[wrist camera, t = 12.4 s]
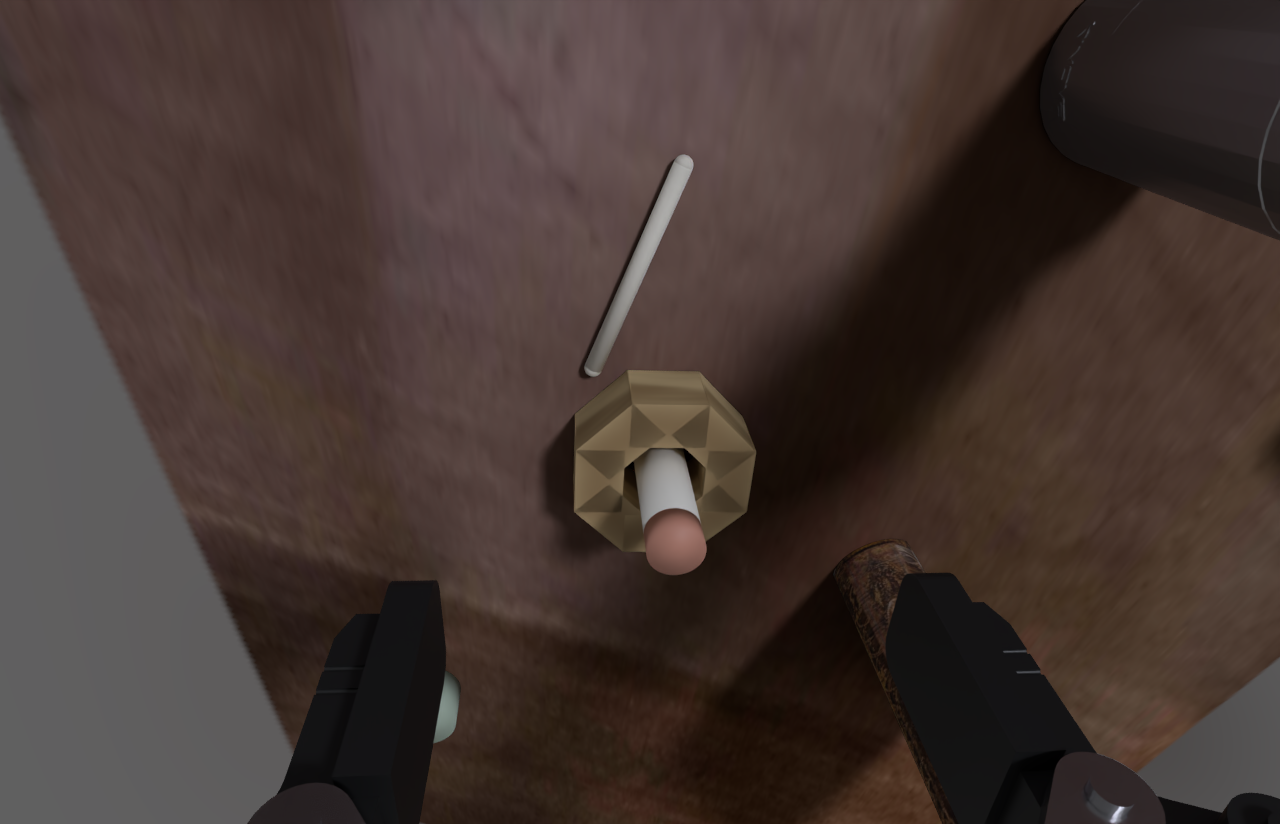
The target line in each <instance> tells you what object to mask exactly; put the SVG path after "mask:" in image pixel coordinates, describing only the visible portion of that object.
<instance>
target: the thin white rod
mask: <svg viewBox="0 0 1280 824" xmlns="http://www.w3.org/2000/svg"><path fill="white" fill-rule="evenodd" d="M692 170H693V161H692V159H691V158H690V157H689V156H688V155H680V156H678V157H677V158H676V159H675V160H674V163H673V165H672V167H671V169H670V172H669V174H668V176H667V179H666V181H665V183H664V185H663V188H662V190H661V192H660V195H659V197H658V199H657V201H656V204H655V206H654V208H653V210H652V213H651V215H650V217H649V220H648V222H647V224H646V226H645V229H644V231H643V233H642V236H641V238H640V240H639V242H638V245H637V247H636V249H635V252H634V254H633V256H632V258H631V261H630V263H629V265H628V267H627V270H626V272H625V274H624V277H623V279H622V281H621V283H620V286H619V288H618V290H617V293H616V295H615V297H614V299H613V302H612V304H611V306H610V309H609V311H608V313H607V315H606V318H605V320H604V322H603V324H602V327H601V329H600V331H599V334H598V336H597V338H596V340H595V343H594V345H593V347H592V350H591V352H590V354H589V356H588V359H587V361H586V363H585V366H584V369H585V372H586V374H587V375H589V376H592V377H595V376H598V375H599V374H600V373H601V371H602V369H603V367H604V365H605V362H606V360H607V358H608V356H609V353H610V351H611V349H612V347H613V345H614V342H615V340H616V338H617V336H618V334H619V331H620V329H621V327H622V325H623V322H624V320H625V318H626V316H627V314H628V311H629V309H630V307H631V305H632V302H633V300H634V298H635V296H636V294H637V291H638V289H639V287H640V285H641V283H642V280H643V278H644V276H645V274H646V271H647V269H648V267H649V265H650V263H651V260H652V258H653V256H654V254H655V252H656V249H657V247H658V245H659V243H660V240H661V238H662V236H663V234H664V232H665V229H666V227H667V225H668V223H669V221H670V218H671V216H672V214H673V212H674V209H675V207H676V205H677V203H678V201H679V198H680V196H681V194H682V192H683V190H684V187H685V185H686V183H687V181H688V178H689V176H690V174H691V172H692Z"/></svg>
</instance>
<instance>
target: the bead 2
mask: <svg viewBox="0 0 1280 824" xmlns="http://www.w3.org/2000/svg"><path fill="white" fill-rule="evenodd" d="M649 448H685V449H686V450H687V451H688V452H689V453H690V454H692V455H693V458H692V459H691V460H690V461H688V462H687V463H686V464H687V468H688V472H689V476H690V480H691V485H692V489H693V493H694V497H695V501H696V505H697V509H698V514H699V518H700V522H701V526H702V530H703V534H704V538H705V542H706V541H707V540H709V539H710V538H711V537H713V536H714V535H715V534H717V533H718V532H720V531H721V530H722V529H724V528H725V527H727V526H728V525H729V524H731V523H732V522H733V521H735V520H736V519H738V518H739V517H740V516H742V515H743V514H744V513H746V512H747V506H748V500H749V494H750V488H751V482H752V476H753V469H754V463H755V457H756V449H755V447H754V444H753V442H752V439H751V437H750V434H749V432H748V429H747V427H746V424H745V421H744V419H743V416H742V415H741V414H740V413H739V412H738V411H737V410H736V409H735V408H734V407H733V406H732V405H731V404H730V403H729V402H728V401H727V400H726V399H725V398H724V397H723V396H722V395H721V394H720V393H719V392H718V391H717V390H716V389H715V388H714V387H713V386H712V385H711V383H710V382H709V381H708V380H707V379H706V378H705V377H704V376H703V375H702V374H701V373H700V372H699V371H645V370H627V371H626V372H625V373H623V374H622V375H621V376H620V377H619V378H617V379H616V380H615V381H614V382H613V383H611V384H610V385H609V386H608V387H607V388H605V389H604V390H603V391H602V392H601V393H599V394H598V395H597V396H596V397H595V398H594V399H592V400H591V401H590V402H589V403H588V404H586V405H585V406H584V407H583V408H582V409H580V410H579V411H578V412H577V413H575V438H574V472H573V481H574V512H575V513H576V514H577V515H578V516H580V517H581V518H582V519H583V520H585V521H586V522H587V523H588V524H590V525H591V526H592V527H593V528H594V529H596V530H597V531H598V532H599V533H601V534H602V535H603V536H604V537H605V538H607V539H608V540H609V541H610V542H612V543H613V544H614V545H615V546H616V547H618V548H619V549H620V550H621V551H622V552H646V548H645V541H644V533H643V526H642V518H641V511H640V504H639V496H638V489H637V481H636V474H635V472H634V471H633V470H632V469H631V468H630V467H629V466H628V465H629V464H630V463H631V462H633V461H634V460H635V459H636V458H638V457H639V456H640V455H642V454H643V453H644V452H645V451H647V450H648V449H649Z"/></svg>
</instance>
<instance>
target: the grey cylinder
mask: <svg viewBox="0 0 1280 824" xmlns="http://www.w3.org/2000/svg"><path fill="white" fill-rule="evenodd" d="M634 467H635V474H636V481H637V489H638V496H639V504H640V511H641V518H642V526H643V533H644V541H645V548H646V555H647V560H648V562H649V564H650V565H651V566H652V567H653V568H654V569H655V570H656V571H658V572H660V573H663V574H667V575H681V574H685V573H688V572H690V571H692V570H694V569H695V568H697V567H698V566H699V565H700V564H701V563H702V561H703V560H704V558H705V556H706V551H707V548H706V543H705V538H704V534H703V530H702V526H701V522H700V518H699V514H698V509H697V505H696V501H695V497H694V493H693V489H692V485H691V480H690V476H689V472H688V468H687V464H686V460H685V455H684V451H683V448H649V449H648V450H647V451H645V452H644V453H643V454H642V455H640V456H639V457H638V458H636V459H635V460H634Z"/></svg>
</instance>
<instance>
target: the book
mask: <svg viewBox="0 0 1280 824" xmlns="http://www.w3.org/2000/svg"><path fill="white" fill-rule="evenodd" d="M909 573H925V571H924V570H923V568H922V566H921V565H920V563H919V561H918V560H917V558H916V556H915V554H914V553H913V551H912V549H911V548H910V546H909V544H908V543H907V542H906V541H903V540H899V539H887V540H881V541H877V542H873V543H870V544H868V545H865V546H863V547H861V548H859V549H857V550H855V551H853V552H852V553H850V554H849V555H847V556H846V557H845V558H844V559H843V560H842V561H841V562H840V563H839V564H838V565H837V567H836V568H835V571H834V574H833V576H834V578H835V580H836V583H837V585H838V587H839V589H840V592H841V594H842V596H843V599H844V601H845V603H846V605H847V608H848V610H849V612H850V614H851V617H852V619H853V621H854V624H855V626H856V628H857V630H858V633H859V635H860V637H861V639H862V642H863V644H864V646H865V649H866V651H867V653H868V655H869V658H870V660H871V662H872V664H873V667H874V669H875V671H876V674H877V676H878V678H879V680H880V683H881V685H882V687H883V689H884V692H885V694H886V696H887V699H888V701H889V703H890V705H891V708H892V710H893V712H894V714H895V717H896V719H897V721H898V724H899V726H900V728H901V730H902V733H903V735H904V737H905V739H906V742H907V744H908V746H909V749H910V751H911V753H912V755H913V758H914V760H915V762H916V764H917V767H918V769H919V771H920V774H921V776H922V778H923V780H924V783H925V785H926V787H927V789H928V792H929V794H930V796H931V799H932V801H933V803H934V805H935V808H936V810H937V812H938V814H939V817H940V819H941V821H942V824H959V823H958V821H957V819H956V817H955V815H954V812H953V810H952V808H951V806H950V804H949V801H948V799H947V797H946V795H945V793H944V790H943V788H942V786H941V784H940V782H939V779H938V777H937V775H936V773H935V771H934V768H933V766H932V764H931V762H930V759H929V757H928V755H927V753H926V751H925V748H924V746H923V744H922V742H921V740H920V737H919V735H918V733H917V731H916V729H915V726H914V724H913V722H912V720H911V718H910V715H909V713H908V711H907V709H906V707H905V704H904V702H903V700H902V698H901V696H900V693H899V691H898V689H897V687H896V685H895V682H894V680H893V678H892V676H891V673H890V671H889V668H888V664H887V659H886V650H885V643H886V635H887V631H888V628H889V624H890V621H891V617H892V614H893V610H894V607H895V603H896V599H897V596H898V592H899V589H900V585H901V582H902V579H903V578H904V576H905V575H906V574H909Z"/></svg>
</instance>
